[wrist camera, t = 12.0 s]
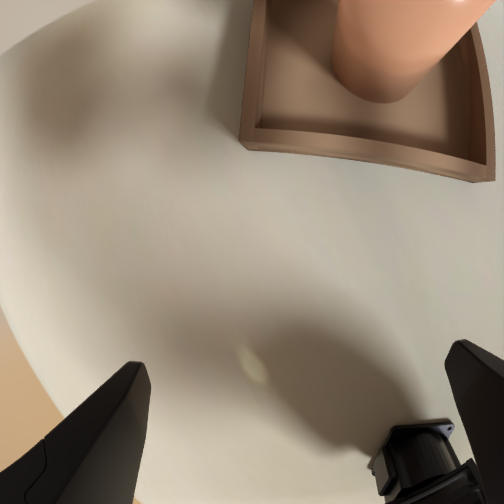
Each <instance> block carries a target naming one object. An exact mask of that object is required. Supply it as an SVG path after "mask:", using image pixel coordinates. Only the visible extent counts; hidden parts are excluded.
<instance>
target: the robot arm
mask: <svg viewBox="0 0 504 504" xmlns="http://www.w3.org/2000/svg"><path fill="white" fill-rule="evenodd" d="M445 370H446V373H447V376H448V379H449V382H450V386H451V389H452V393H453V396H454V400H455V403H456V406H457V409H458V412H459V415H460V417H461V420H462V423H463V425H464V428H465V431H466V434H467V437H468V440H469V443H470V446H471V449H472V452H473V455H474V458H475V461H476V464H475V462H474V461H473V459H472V458H470V459H469V460H467V461H466V463H464V464H462V465H461V464H460V462H459V460H458V458H457V456H456V454H455V452H454V450H453V448H452V446H451V444H450V442H449V440H448V438H449V437H450V435H451V433H452V431H453V429H454V427H455V426H454V424H453V422H445V423H434V424H422V425H404V426H395V427H393V428H392V429H391V431H390V433H389V435H388V438H387V440H386V442H385V444H384V445H383V446H382V447H381V449H380V451H379V453H378V455H377V457H376V459H375V461H374V463H373V469H372V475H373V476H375V478H376V483H377V489H378V494H379V495H380V496H384V498H385V504H504V360H502V359H501V358H499V357H497V356H495V355H493V354H492V353H490V352H488V351H486V350H484V349H483V348H481V347H479V346H477V345H475V344H474V343H472V342H470V341H468V340H466V339H462V340H457V341H455V342H454V343H453V344H452V346H451V349H450V351H449V353H448V355H447V357H446V359H445ZM150 394H151V383H150V379H149V376H148V373H147V370H146V367H145V365H144V363H143V362H137V361H129V362H127V363H126V364H125V365H124V366H122V367H121V368H120V369H119V370H118V371H117V372H116V373H115V374H114V375H112V376H111V377H110V378H109V379H108V380H107V381H106V382H105V383H104V384H102V385H101V386H100V387H99V388H98V389H97V390H96V391H95V392H94V393H93V394H91V395H90V396H89V397H88V398H87V399H86V400H85V401H84V402H83V403H81V404H80V405H79V406H78V407H77V408H76V409H75V410H74V411H73V412H71V413H70V414H69V415H68V416H67V417H66V418H65V419H64V420H63V421H62V422H60V423H59V424H58V425H57V426H56V427H55V428H54V429H53V430H51V431H50V432H49V433H48V434H47V435H46V436H45V437H44V439H41V440H40V441H39V442H38V443H37V444H36V445H35V446H34V447H32V448H31V449H30V450H29V451H28V452H27V453H25V454H24V455H23V456H22V457H21V458H19V459H18V460H17V461H15V462H14V463H13V464H11V465H10V466H9V467H7V468H6V469H4V470H3V471H2V472H0V504H132V503H133V498H134V492H135V487H136V482H137V477H138V472H139V467H140V462H141V458H142V453H143V448H144V444H145V439H146V431H147V421H148V412H149V403H150ZM396 431H397V432H396ZM476 465H477V466H476Z"/></svg>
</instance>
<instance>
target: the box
mask: <svg viewBox="0 0 504 504" xmlns="http://www.w3.org/2000/svg"><path fill="white" fill-rule="evenodd" d="M337 7H338V0H254V4H253V12H252V20H251V29H250V37H249V46H248V55H247V65H246V74H245V84H244V93H243V103H242V114H241V124H240V135H239V142H240V143H241V144H242V145H243V146H244V147H245V148H246V149H247V150H251V151H268V152H281V153H294V154H304V155H314V156H324V157H332V158H341V159H348V160H356V161H363V162H370V163H376V164H383V165H389V166H395V167H400V168H406V169H411V170H417V171H422V172H427V173H432V174H436V175H441V176H446V177H450V178H454V179H459V180H463V181H467V182H471V183H478V182H489V181H495V166H496V162H495V130H494V116H493V106H492V97H491V89H490V82H489V76H488V70H487V65H486V59H485V54H484V50H483V45H482V41H481V37H480V33H479V29H478V25H477V22H475V24H474V25H473V26H472V27H471V28H470V29H469V30H468V31H467V32H466V33H465V34H464V35H463V36H462V37H461V39H460V40H459V41H458V42H457V43H456V44H455V45H454V46H453V47H452V48H451V49H450V50H449V51H448V52H447V53H446V55H445V56H444V57H443V58H442V59H441V60H440V61H439V62H438V63H437V64H436V65H435V66H434V67H433V68H432V70H431V71H430V72H429V73H428V74H427V75H426V76H425V77H424V78H423V79H422V80H421V81H420V82H419V83H418V84H417V85H416V87H415V88H414V89H413V90H412V91H411V92H410V93H409V94H408V95H407V96H406V97H404V98H403V99H401V100H399V101H397V102H393V103H386V104H381V103H373V102H370V101H366V100H364V99H361V98H359V97H357V96H356V95H354V94H353V93H351V92H350V91H349V90H347V89H346V88H345V87H344V86H343V85H342V84H341V83H340V81H339V80H338V79H337V77H336V75H335V73H334V71H333V68H332V65H331V51H332V44H333V37H334V30H335V23H336V15H337Z"/></svg>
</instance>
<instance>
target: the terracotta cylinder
mask: <svg viewBox="0 0 504 504" xmlns="http://www.w3.org/2000/svg"><path fill="white" fill-rule="evenodd" d="M495 1H496V0H338V7H337V15H336V23H335V30H334V37H333V44H332V51H331V65H332V68H333V71H334V73H335V75H336V77H337V79H338V80H339V81H340V83H341V84H342V85H343V86H344V87H345V88H346V89H347V90H349V91H350V92H351V93H353V94H354V95H356V96H357V97H359V98H361V99H364V100H366V101H370V102H373V103H381V104H386V103H393V102H397V101H399V100H401V99H403V98H404V97H406V96H407V95H408V94H409V93H410V92H411V91H412V90H413V89H414V88H415V87H416V85H417V84H418V83H419V82H420V81H421V80H422V79H423V78H424V77H425V76H426V75H427V74H428V73H429V72H430V71H431V70H432V68H433V67H434V66H435V65H436V64H437V63H438V62H439V61H440V60H441V59H442V58H443V57H444V56H445V55H446V53H447V52H448V51H449V50H450V49H451V48H452V47H453V46H454V45H455V44H456V43H457V42H458V41H459V40H460V39H461V37H462V36H463V35H464V34H465V33H466V32H467V31H468V30H469V29H470V28H471V27H472V26H473V25H474V24H475V22H476V21H477V20H478V19H479V18H480V17H481V16H482V15H483V14H484V13H485V12H486V11H487V10H488V8H489V7H490V6H491V5H492V4H493V3H494V2H495Z"/></svg>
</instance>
